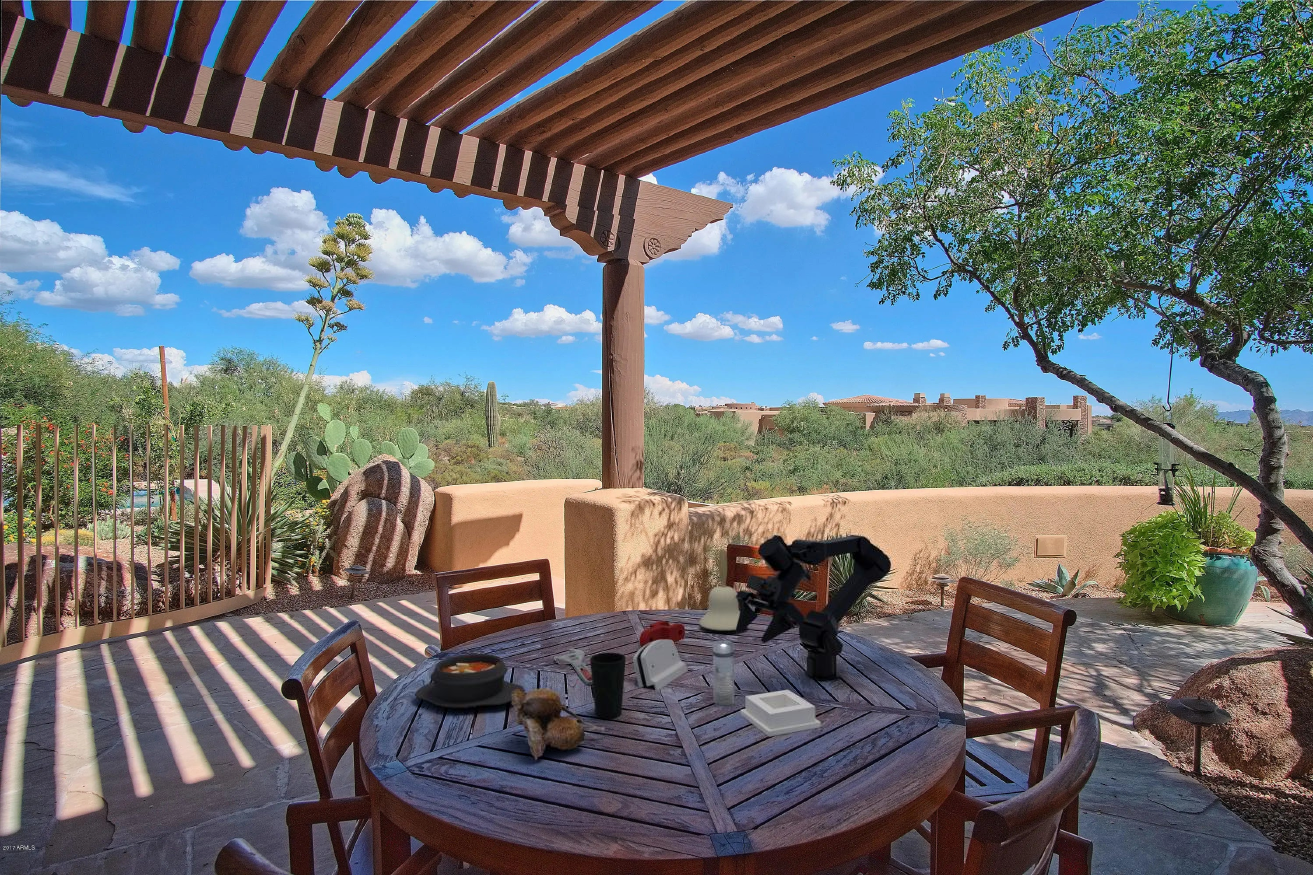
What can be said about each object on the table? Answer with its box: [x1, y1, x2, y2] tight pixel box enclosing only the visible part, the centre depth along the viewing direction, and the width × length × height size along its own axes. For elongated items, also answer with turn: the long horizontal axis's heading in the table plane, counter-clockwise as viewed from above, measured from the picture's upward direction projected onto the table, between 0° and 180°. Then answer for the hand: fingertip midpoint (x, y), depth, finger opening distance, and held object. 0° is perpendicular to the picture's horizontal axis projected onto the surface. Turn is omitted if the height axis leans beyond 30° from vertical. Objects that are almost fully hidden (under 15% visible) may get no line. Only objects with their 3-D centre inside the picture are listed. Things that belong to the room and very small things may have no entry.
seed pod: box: [511, 688, 605, 761], centre depth 132 cm, size 13×16×15 cm
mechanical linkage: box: [638, 620, 686, 648], centre depth 199 cm, size 16×7×5 cm, turn 143°
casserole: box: [414, 653, 525, 709], centre depth 156 cm, size 25×19×8 cm
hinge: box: [632, 639, 688, 691], centre depth 170 cm, size 17×5×10 cm, turn 151°
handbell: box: [698, 548, 740, 631], centre depth 214 cm, size 15×15×25 cm
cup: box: [589, 652, 627, 720], centre depth 147 cm, size 8×8×12 cm
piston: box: [711, 639, 735, 706], centre depth 153 cm, size 5×5×13 cm
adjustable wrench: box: [553, 648, 593, 686], centre depth 176 cm, size 8×26×2 cm, turn 15°
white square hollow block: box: [739, 689, 822, 738], centre depth 142 cm, size 12×12×4 cm
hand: (749, 637), depth 157 cm, fingers open, 9 cm apart
